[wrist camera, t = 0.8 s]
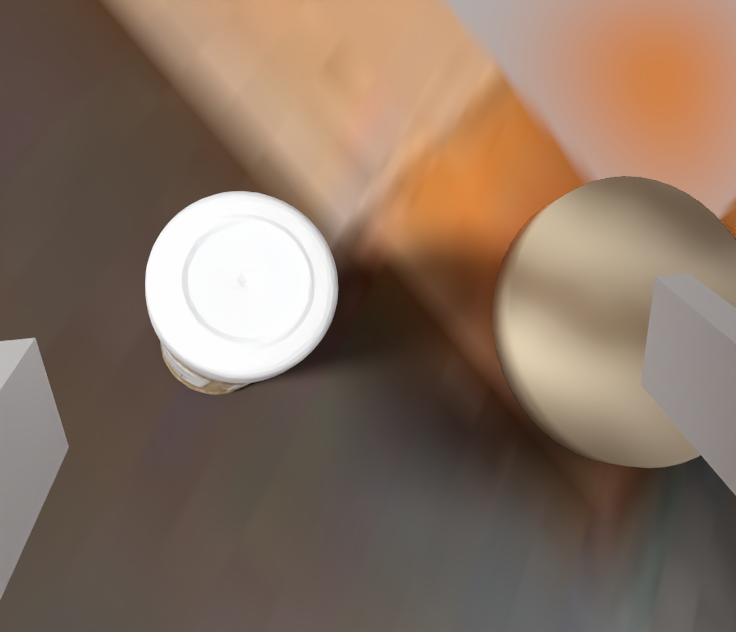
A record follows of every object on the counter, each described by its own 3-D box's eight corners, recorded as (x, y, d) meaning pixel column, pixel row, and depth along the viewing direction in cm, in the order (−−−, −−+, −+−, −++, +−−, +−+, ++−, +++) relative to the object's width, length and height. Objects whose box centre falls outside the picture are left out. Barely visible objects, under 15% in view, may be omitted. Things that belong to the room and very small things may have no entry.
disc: (498, 168, 34) (528, 145, 31) (725, 228, 37) (772, 212, 34) (463, 441, 31) (492, 444, 29) (708, 481, 34) (757, 487, 32)
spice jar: (275, 389, 30) (351, 371, 17) (162, 399, 28) (150, 388, 15) (266, 282, 30) (333, 183, 17) (154, 287, 29) (136, 187, 16)
